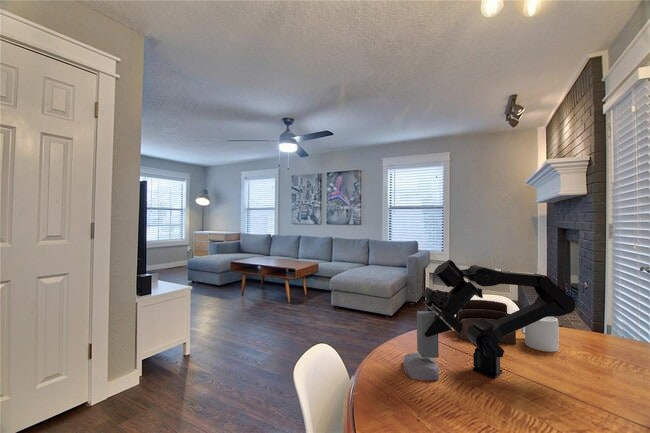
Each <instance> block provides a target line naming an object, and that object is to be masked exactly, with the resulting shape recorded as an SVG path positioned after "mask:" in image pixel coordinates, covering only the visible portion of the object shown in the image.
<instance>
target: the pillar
mask: <svg viewBox="0 0 650 433" xmlns="http://www.w3.org/2000/svg"><path fill="white" fill-rule="evenodd" d="M434 321H435V313H434V312H433V311H426V310H424V311H421V310H420V311H419V310H417V311H416V340H417V341H416V346H417V347H416V349H417V353H419V354H420V355H421V357H422V358H434V359H435V358H436V359H438V358H439V351H440V350H439V334H436V335H433V336H430V337H426V336H425V333H426V331H427V330H428V328H429V327H430V326H431V325H432V323H433V322H434Z"/></svg>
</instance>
